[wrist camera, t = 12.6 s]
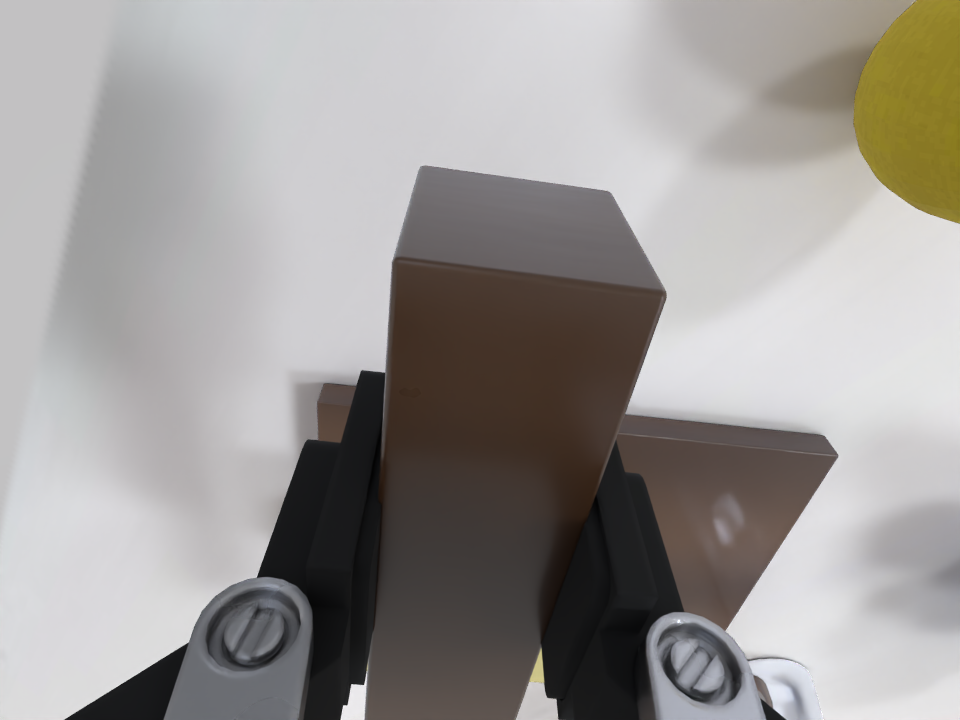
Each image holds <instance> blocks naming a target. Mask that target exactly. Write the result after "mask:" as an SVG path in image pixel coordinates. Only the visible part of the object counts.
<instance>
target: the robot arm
mask: <svg viewBox="0 0 960 720" xmlns="http://www.w3.org/2000/svg"><path fill="white" fill-rule="evenodd" d="M384 388H385V373H382V372H373V371H364V370H362V371H361V373H360V376H359V379H358V383H357V386H356V390H355V393H354V397H353V400H352V404H351V408H350V411H349V415H348V418H347V422H346V425H345V429H344V432H343V436H342V440H341V443H338V442H329V441H319V440H309V439H308V440H307V441H306V442H305V444H304V446H303V449H302V451H301V454H300V457H299V460H298V463H297V465H296V468H295V471H294V474H293V477H292V480H291V482H290V485H289V488H288V491H287V494H286V497H285V499H284V502H283V505H282V508H281V511H280V514H279V516H278V519H277V522H276V525H275V528H274V531H273V533H272V536H271V539H270V542H269V545H268V547H267V550H266V553H265V556H264V559H263V562H262V564H261V567H260V570H259V573H258V576H257V578H253V579H247V580H245V581H242V582H239V583H237V584H234V585H231V586H230V587H228V588H227V589H225V590H224V591H222V592H221V593H219V594H218V595H216V596H215V597H214V598H213V599H212V600H211V602H210V603H209V604H208V605H207V606H206V607H205V608H204V609H203V610H202V612H201V614H200V616H199V618H198V620H197V622H196V624H195V626H194V629H193V632H192V635H191V638H190V641H189V643H187V644H185V645H184V646H182V647H181V648H179V649H177V650H176V651H174V652H173V653H171V654H169V655H168V656H166V657H165V658H163V659H161V660H160V661H158V662H156V663H155V664H153V665H152V666H150V667H148V668H147V669H145V670H144V671H142V672H140V673H139V674H137V675H136V676H134V677H132V678H131V679H129V680H127V681H126V682H124V683H123V684H121V685H119V686H118V687H116V688H115V689H113V690H111V691H110V692H108V693H107V694H105V695H103V696H102V697H100V698H98V699H97V700H95V701H94V702H92V703H90V704H89V705H87V706H86V707H84V708H82V709H81V710H79V711H78V712H76V713H74V714H73V715H71V716H69V717H68V718H66V719H65V720H340V719H341V714H342V708H343V705H348V699H349V693H350V688H351V684H357V685H364V682H365V677H366V671H367V665H368V658H369V652H370V646H371V639H372V633H373V620H374V605H375V591H376V576H377V561H378V547H379V532H380V517H381V503H379V501H378V488H379V471H380V455H381V438H382V422H383V405H384ZM541 649H542V661H543V673H544V685H545V692H546V696H547V698H555V699H557V709H558V719H559V720H786V719H785V718H784V717H783V716H781V715H780V714H779V713H778V712H777V711H775V710H774V709H773V708H772V707H771V706H769V705H768V704H767V703H766V702H765V701H763V700H762V699H761V698H760V697H759V694H758V690H757V687H756V683H755V680H754V677H753V673H752V670H751V668H750V665H749V663H748V661H747V659H746V656H745V654H744V652H743V651H742V650H741V648H740V647H739V646H738V644H737V643H736V642H735V640H734V639H733V638H732V637H731V636H730V635H729V634H728V633H726V632H725V631H724V630H723V629H722V628H721V627H720V626H718V625H716V624H715V623H713V622H711V621H709V620H708V619H706V618H704V617H701V616H698V615H695V614H691V613H686V612H684V609H683V605H682V602H681V599H680V595H679V592H678V589H677V586H676V582H675V579H674V576H673V572H672V569H671V566H670V562H669V559H668V556H667V553H666V549H665V546H664V543H663V539H662V536H661V533H660V529H659V526H658V523H657V520H656V516H655V513H654V510H653V506H652V503H651V500H650V496H649V493H648V490H647V487H646V484H645V481H644V479H643V477H642V476H641V475H640V474H639V473H630V472H625V470H624V467H623V463H622V459H621V456H620V452H619V448H618V445H617V441H616V440H615V443H614V446H613V449H612V451H611V454H610V457H609V460H608V463H607V465H606V468H605V471H604V474H603V477H602V479H601V482H600V485H599V488H598V491H597V493H596V496H595V499H594V502H593V505H592V507H591V510H590V513H589V516H588V519H587V521H586V523H585V524H584V526H583V529H582V532H581V535H580V538H579V540H578V543H577V546H576V549H575V552H574V554H573V557H572V560H571V563H570V566H569V568H568V571H567V574H566V577H565V580H564V582H563V585H562V588H561V591H560V593H559V596H558V599H557V602H556V605H555V607H554V610H553V613H552V616H551V619H550V621H549V624H548V627H547V630H546V633H545V635H544V638H543V641H542V644H541Z"/></svg>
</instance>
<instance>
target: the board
mask: <svg viewBox="0 0 960 720" xmlns="http://www.w3.org/2000/svg"><path fill="white" fill-rule="evenodd" d="M355 390H356V387H355V386H345V385H335V384H324V385H323V388H322V390H321V393H320V396H319V399H318V402H317V419H318V440H319V441H329V442H338V443H341V440H342V436H343V432H344V429H345V425H346V422H347V418H348V415H349V411H350V408H351V404H352V400H353V397H354V393H355ZM616 441H617V445H618V448H619V452H620V456H621V459H622V463H623V467H624V470H625V472H630V473H639V474H640V475H641V476H642V477H643V479H644V481H645V484H646V487H647V490H648V493H649V496H650V500H651V503H652V506H653V510H654V513H655V516H656V520H657V523H658V526H659V529H660V533H661V536H662V539H663V543H664V546H665V549H666V553H667V556H668V559H669V562H670V566H671V569H672V572H673V576H674V579H675V582H676V586H677V589H678V592H679V595H680V599H681V602H682V605H683V609H684V612H686V613H691V614H695V615H698V616H701V617H704V618H706V619H708V620H709V621H711V622H713V623H715V624H716V625H718V626H720V627H721V628H722V629H723V630H724V631H726V629H727V628H728V626H729V624H730V623H731V621H732V620H733V618H734V617H735V615H736V614H737V612H738V611H739V609H740V607H741V606H742V604H743V603H744V601H745V600H746V598H747V597H748V595H749V594H750V592H751V590H752V589H753V587H754V586H755V584H756V583H757V581H758V580H759V578H760V577H761V575H762V573H763V572H764V570H765V569H766V567H767V566H768V564H769V563H770V561H771V560H772V558H773V556H774V555H775V553H776V552H777V550H778V549H779V547H780V546H781V544H782V543H783V541H784V540H785V538H786V536H787V535H788V533H789V532H790V530H791V529H792V527H793V526H794V524H795V523H796V521H797V519H798V518H799V516H800V515H801V513H802V512H803V510H804V509H805V507H806V506H807V504H808V502H809V501H810V499H811V498H812V496H813V495H814V493H815V492H816V490H817V489H818V487H819V485H820V484H821V482H822V481H823V479H824V478H825V476H826V475H827V473H828V472H829V470H830V468H831V467H832V465H833V464H834V462H835V461H836V459H837V458H838V454H837V452H836V451H835V450H834V448H833V447H832V446H831V444H830V443H829V441H828V440H827V439H826V437H825V436H822V435H813V434H803V433H794V432H784V431H775V430H765V429H756V428H746V427H737V426H727V425H717V424H708V423H698V422H689V421H679V420H670V419H660V418H651V417H641V416H631V415H624V418H623V421H622V424H621V426H620V429H619V432H618V435H617V438H616Z"/></svg>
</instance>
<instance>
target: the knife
mask: <svg viewBox="0 0 960 720" xmlns="http://www.w3.org/2000/svg"><path fill="white" fill-rule="evenodd" d="M666 298H667V295H666V291H665V289H664V287H663V285H662V283H661V282H660V280H659V278H658V276H657V274H656V273H655V271H654V269H653V267H652V265H651V264H650V262H649V260H648V258H647V256H646V255H645V253H644V251H643V249H642V247H641V246H640V244H639V242H638V240H637V239H636V237H635V235H634V233H633V231H632V230H631V228H630V226H629V224H628V222H627V221H626V219H625V217H624V215H623V213H622V212H621V210H620V208H619V206H618V204H617V203H616V201H615V199H614V197H613V196H612V194H611V193H610V192H608V191H603V190H596V189H589V188H582V187H575V186H568V185H561V184H553V183H546V182H539V181H532V180H525V179H518V178H511V177H503V176H496V175H489V174H482V173H475V172H468V171H460V170H453V169H446V168H439V167H432V166H421V167H420V169H419V171H418V174H417V178H416V181H415V185H414V188H413V192H412V195H411V199H410V202H409V205H408V209H407V212H406V216H405V219H404V223H403V226H402V230H401V233H400V237H399V240H398V244H397V247H396V251H395V254H394V257H393V261H392V272H391V289H390V305H389V322H388V339H387V355H386V372H385V388H384V405H383V422H382V438H381V455H380V471H379V488H378V501H379V503H381V517H380V532H379V547H378V561H377V576H376V591H375V605H374V620H373V633H372V639H371V646H370V652H369V658H368V670H367V687H366V704H365V720H516V717H517V714H518V711H519V709H520V706H521V703H522V700H523V697H524V695H525V692H526V689H527V686H528V683H529V681H530V678H531V675H532V672H533V669H534V667H535V664H536V661H537V658H538V655H539V653H540V650H541V644H542V641H543V638H544V635H545V633H546V630H547V627H548V624H549V621H550V619H551V616H552V613H553V610H554V607H555V605H556V602H557V599H558V596H559V593H560V591H561V588H562V585H563V582H564V580H565V577H566V574H567V571H568V568H569V566H570V563H571V560H572V557H573V554H574V552H575V549H576V546H577V543H578V540H579V538H580V535H581V532H582V529H583V526H584V524H585V523H586V521H587V519H588V516H589V513H590V510H591V507H592V505H593V502H594V499H595V496H596V493H597V491H598V488H599V485H600V482H601V479H602V477H603V474H604V471H605V468H606V465H607V463H608V460H609V457H610V454H611V451H612V449H613V446H614V443H615V440H616V438H617V435H618V432H619V429H620V426H621V424H622V421H623V418H624V415H625V412H626V410H627V407H628V404H629V401H630V398H631V396H632V393H633V390H634V387H635V384H636V382H637V379H638V376H639V373H640V370H641V368H642V365H643V362H644V359H645V356H646V354H647V351H648V348H649V345H650V342H651V340H652V337H653V334H654V331H655V329H656V326H657V323H658V320H659V317H660V315H661V312H662V309H663V306H664V303H665V301H666Z"/></svg>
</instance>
